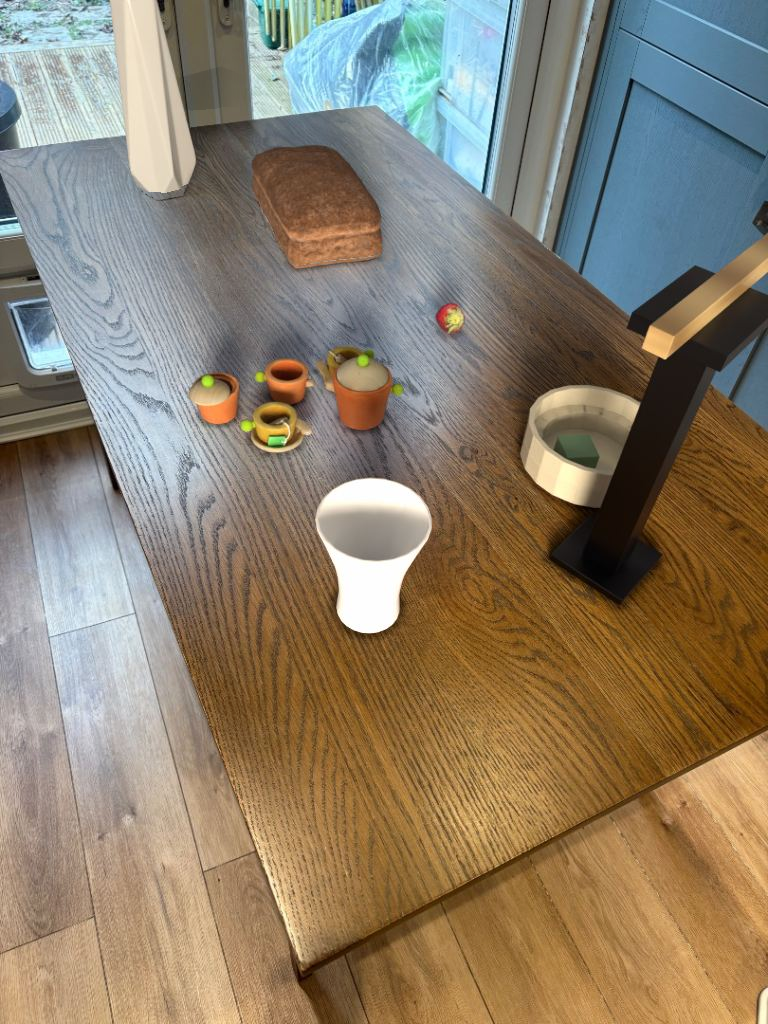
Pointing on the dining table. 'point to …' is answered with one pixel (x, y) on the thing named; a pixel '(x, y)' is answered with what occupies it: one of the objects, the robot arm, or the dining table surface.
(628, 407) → the bowl
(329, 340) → the dining table surface
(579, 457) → the block
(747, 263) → the rectangular bar
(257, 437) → the toy tea set
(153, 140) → the vase
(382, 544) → the cup
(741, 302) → the stand
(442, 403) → the dining table surface
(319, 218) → the bread
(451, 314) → the fruit
